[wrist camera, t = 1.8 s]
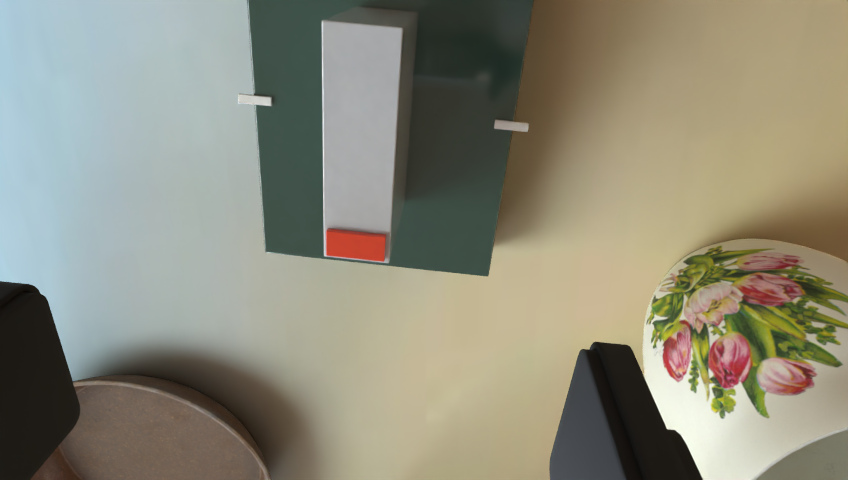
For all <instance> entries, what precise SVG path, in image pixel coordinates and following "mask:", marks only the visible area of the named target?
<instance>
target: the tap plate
mask: <svg viewBox="0 0 848 480" xmlns="http://www.w3.org/2000/svg"><path fill="white" fill-rule="evenodd" d="M533 3H534V0H247V4H248V18H249V32H250V47H251V61H252V75H253V89H254V95H248V94H238V101H239V103H245V104H255V117H256V131H257V146H258V160H259V174H260V188H261V202H262V216H263V230H264V244H265V252H266V253H275V254H285V255H294V256H303V257H312V258H322V259H331V260H340V261H349V262H359V263H368V264H377V265H387V266H396V267H405V268H414V269H424V270H433V271H442V272H451V273H461V274H470V275H479V276H488V275H489V270H490V264H491V258H492V251H493V245H494V239H495V233H496V227H497V221H498V215H499V209H500V203H501V197H502V191H503V185H504V179H505V173H506V167H507V161H508V155H509V149H510V142H511V136H512V130H513V131H523V132H528V127H529V123H527V122H517V121H514V118H515V112H516V106H517V100H518V94H519V88H520V82H521V76H522V70H523V64H524V58H525V52H526V46H527V40H528V33H529V27H530V21H531V15H532V9H533ZM356 6H362V7H372V8H382V9H393V10H403V11H414V12H418V22H417V37H416V51H415V65H414V79H413V93H412V107H411V122H410V136H409V150H408V164H407V178H406V192H405V203H404V207H403V211H402V215H401V219H400V223H399V226H398V230H397V234H396V238H395V242H394V246H393V250H392V254H391V257H390V261H389V263H381V262H371V261H362V260H353V259H344V258H334V257H325V256H324V223H323V121H322V20H324V19H327V18H329V17H332V16H334V15H336V14H339V13H341V12H344V11H346V10H349V9H351V8H354V7H356Z"/></svg>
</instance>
